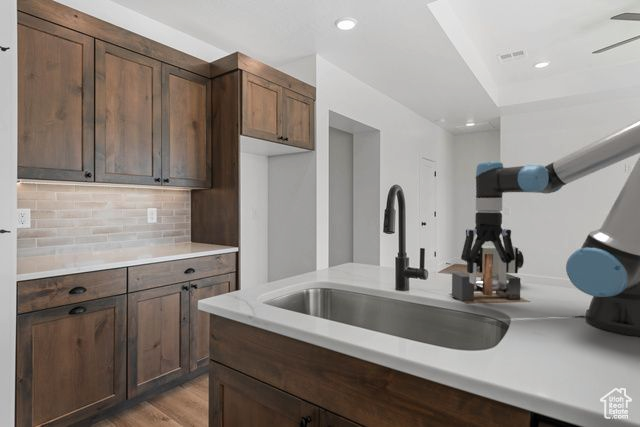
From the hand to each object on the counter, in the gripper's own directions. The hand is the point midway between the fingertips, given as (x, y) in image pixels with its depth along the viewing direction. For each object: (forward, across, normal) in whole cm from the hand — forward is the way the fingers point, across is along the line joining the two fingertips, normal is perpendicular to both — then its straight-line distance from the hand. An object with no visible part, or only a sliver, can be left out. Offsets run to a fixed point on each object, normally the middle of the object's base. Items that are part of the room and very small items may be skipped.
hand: (487, 282), depth 109 cm
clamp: (+7, -12, -7) cm, 15 cm away
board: (+8, -4, -7) cm, 11 cm away
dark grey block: (+7, +4, -7) cm, 11 cm away
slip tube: (+5, -5, -4) cm, 8 cm away
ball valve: (+8, -16, -23) cm, 29 cm away
